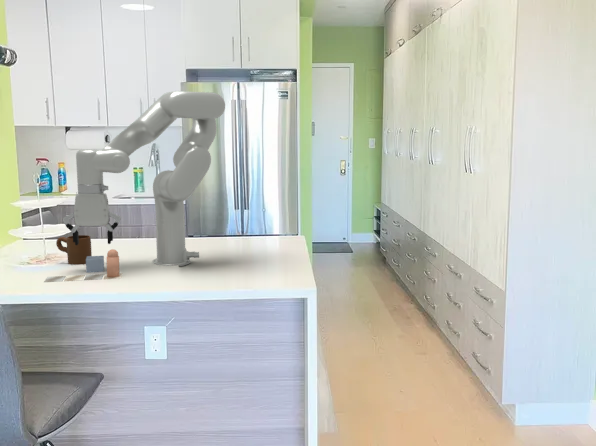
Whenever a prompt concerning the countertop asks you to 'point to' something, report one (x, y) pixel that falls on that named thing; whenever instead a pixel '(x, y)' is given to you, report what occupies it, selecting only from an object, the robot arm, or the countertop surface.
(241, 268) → the countertop surface
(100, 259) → the light blue cube
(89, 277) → the track
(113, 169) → the robot arm
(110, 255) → the pawn
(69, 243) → the mug
